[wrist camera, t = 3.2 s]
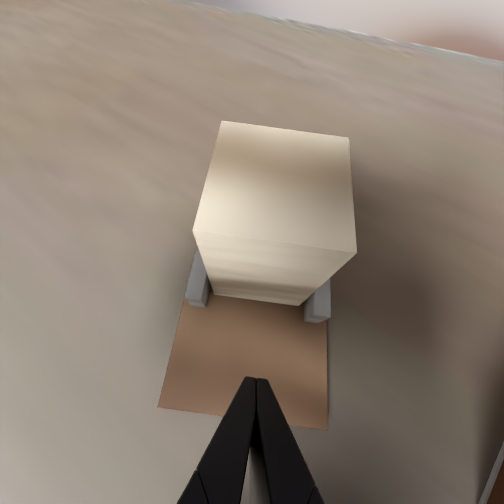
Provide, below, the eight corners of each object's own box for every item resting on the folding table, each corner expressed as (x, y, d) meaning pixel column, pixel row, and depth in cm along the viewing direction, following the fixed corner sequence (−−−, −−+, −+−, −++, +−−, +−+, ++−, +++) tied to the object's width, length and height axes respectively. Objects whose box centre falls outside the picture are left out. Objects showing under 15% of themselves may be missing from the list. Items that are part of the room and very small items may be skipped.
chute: (323, 426, 15) (345, 444, 12) (161, 404, 15) (141, 416, 12) (322, 162, 24) (334, 133, 21) (223, 148, 24) (221, 118, 21)
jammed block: (298, 306, 17) (357, 252, 9) (214, 294, 17) (192, 230, 9) (301, 232, 19) (348, 137, 11) (228, 222, 19) (221, 120, 11)
